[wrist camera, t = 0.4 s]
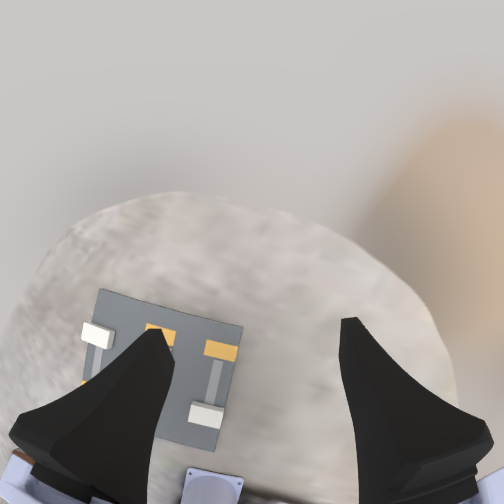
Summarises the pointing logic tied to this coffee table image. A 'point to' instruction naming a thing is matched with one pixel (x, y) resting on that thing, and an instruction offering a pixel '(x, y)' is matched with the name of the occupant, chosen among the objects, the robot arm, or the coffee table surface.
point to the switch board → (185, 356)
